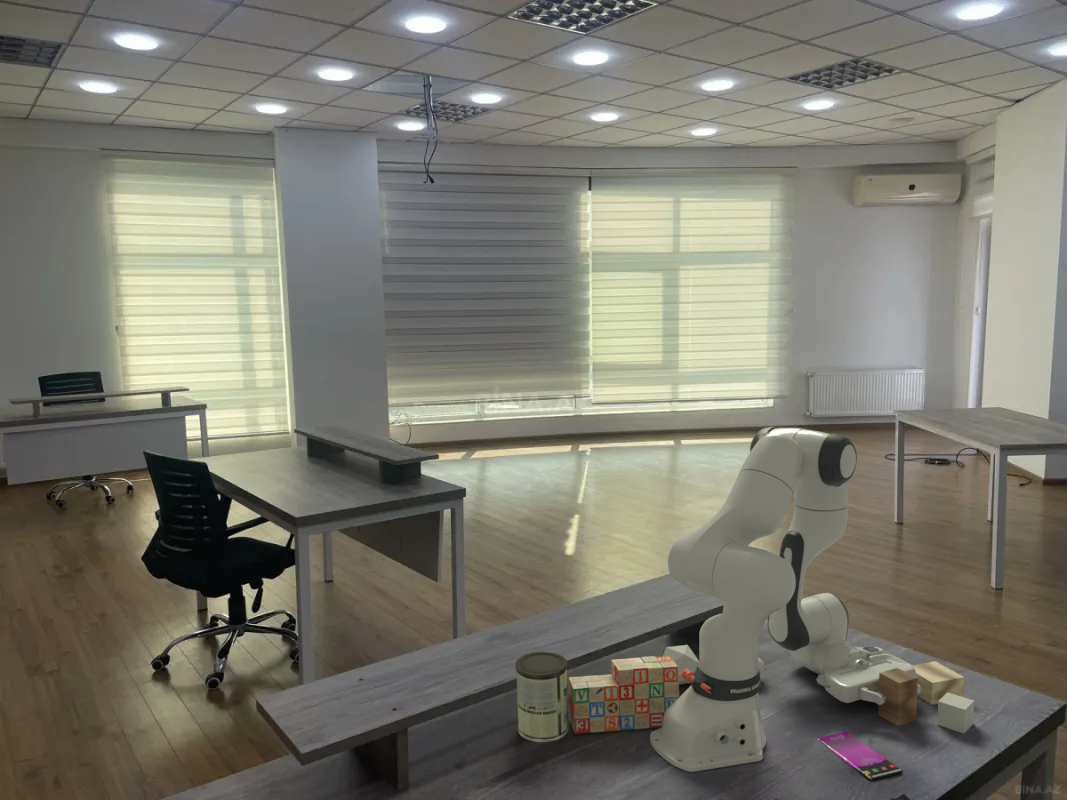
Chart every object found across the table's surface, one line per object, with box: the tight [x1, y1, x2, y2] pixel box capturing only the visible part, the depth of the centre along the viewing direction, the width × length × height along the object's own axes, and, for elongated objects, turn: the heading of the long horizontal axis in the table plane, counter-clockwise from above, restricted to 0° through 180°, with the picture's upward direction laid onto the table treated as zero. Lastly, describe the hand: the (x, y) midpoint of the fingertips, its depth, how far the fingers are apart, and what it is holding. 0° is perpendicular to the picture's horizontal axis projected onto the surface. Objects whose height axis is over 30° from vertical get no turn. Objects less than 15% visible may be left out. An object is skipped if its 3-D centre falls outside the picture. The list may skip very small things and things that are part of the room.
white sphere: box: [758, 657, 766, 680], centre depth 184 cm, size 8×6×6 cm
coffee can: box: [515, 651, 570, 743], centre depth 164 cm, size 10×10×14 cm
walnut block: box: [877, 668, 918, 727], centre depth 165 cm, size 5×5×9 cm
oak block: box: [911, 660, 965, 706], centre depth 175 cm, size 8×8×5 cm
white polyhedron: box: [661, 644, 699, 686], centre depth 183 cm, size 8×9×10 cm
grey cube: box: [936, 692, 975, 734], centre depth 162 cm, size 5×5×5 cm
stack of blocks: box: [568, 655, 680, 734], centre depth 165 cm, size 21×6×12 cm, turn 96°
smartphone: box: [817, 731, 904, 782], centre depth 153 cm, size 7×15×1 cm, turn 18°
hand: (901, 695), depth 164 cm, fingers open, 8 cm apart
